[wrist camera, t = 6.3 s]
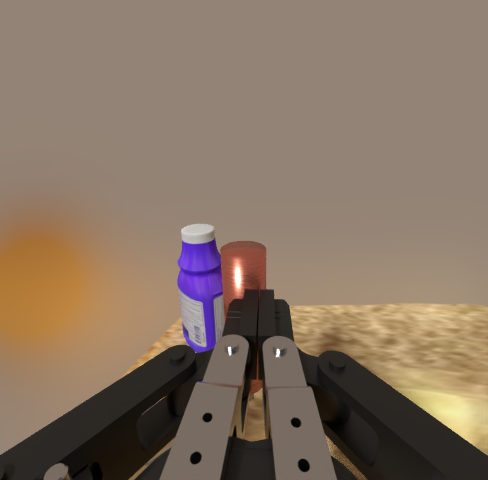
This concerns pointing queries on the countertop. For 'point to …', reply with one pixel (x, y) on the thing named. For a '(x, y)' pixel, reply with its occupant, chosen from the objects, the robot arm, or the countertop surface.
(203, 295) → the bottle
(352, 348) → the countertop surface
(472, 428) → the countertop surface
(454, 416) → the countertop surface
